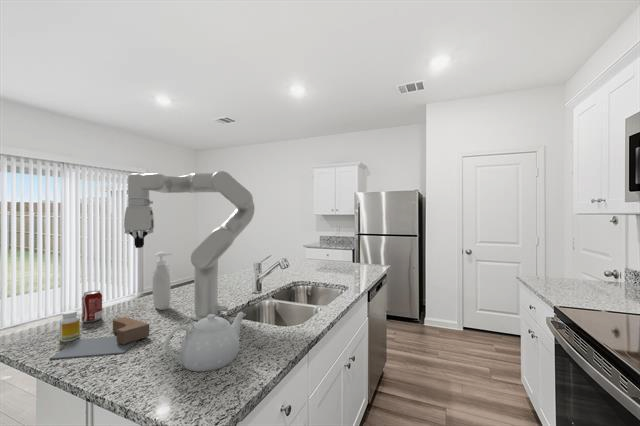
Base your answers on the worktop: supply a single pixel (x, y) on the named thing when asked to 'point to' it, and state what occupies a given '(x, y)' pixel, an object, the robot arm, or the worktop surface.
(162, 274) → the soap bottle
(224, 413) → the worktop surface
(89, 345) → the rubber mat
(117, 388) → the worktop surface
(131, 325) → the wooden block
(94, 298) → the soda can
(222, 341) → the teapot
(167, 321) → the worktop surface
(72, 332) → the supplement bottle
